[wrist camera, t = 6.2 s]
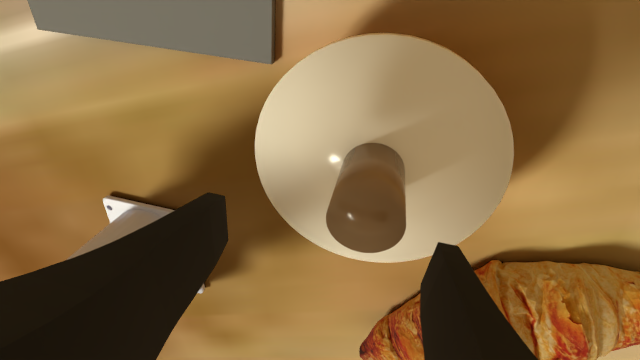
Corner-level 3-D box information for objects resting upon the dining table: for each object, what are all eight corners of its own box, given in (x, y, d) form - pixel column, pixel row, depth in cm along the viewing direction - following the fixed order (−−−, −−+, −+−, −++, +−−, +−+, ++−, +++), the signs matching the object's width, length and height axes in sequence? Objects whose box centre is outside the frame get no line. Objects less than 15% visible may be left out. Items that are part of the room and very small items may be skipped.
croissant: (622, 201, 21) (697, 228, 14) (700, 345, 20) (823, 452, 13) (354, 284, 31) (317, 326, 23) (398, 386, 30) (374, 463, 22)
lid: (468, 268, 18) (488, 348, 14) (268, 235, 20) (235, 297, 16) (554, 40, 12) (632, 69, 8) (249, 26, 14) (188, 43, 10)
